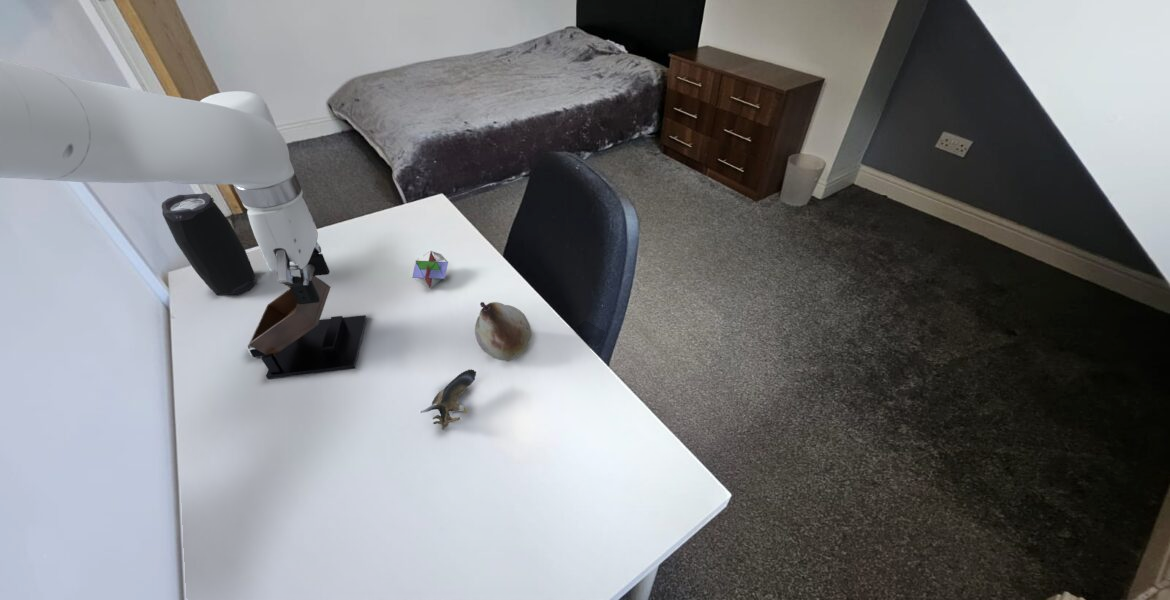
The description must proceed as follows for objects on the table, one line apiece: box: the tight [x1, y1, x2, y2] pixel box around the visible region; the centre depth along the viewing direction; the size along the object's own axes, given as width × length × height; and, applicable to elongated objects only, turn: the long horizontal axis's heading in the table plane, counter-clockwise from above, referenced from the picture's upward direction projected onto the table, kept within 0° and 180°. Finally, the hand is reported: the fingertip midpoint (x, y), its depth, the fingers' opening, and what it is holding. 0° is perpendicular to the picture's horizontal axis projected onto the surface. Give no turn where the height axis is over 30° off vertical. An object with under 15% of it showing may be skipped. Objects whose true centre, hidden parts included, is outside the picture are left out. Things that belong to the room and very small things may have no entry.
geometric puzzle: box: [411, 250, 449, 290], centre depth 98 cm, size 7×7×8 cm
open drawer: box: [248, 265, 332, 355], centre depth 78 cm, size 14×10×6 cm
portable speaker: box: [161, 192, 256, 296], centre depth 91 cm, size 9×9×20 cm
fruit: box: [474, 301, 532, 362], centre depth 82 cm, size 10×9×12 cm
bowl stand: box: [260, 314, 368, 380], centre depth 84 cm, size 14×13×5 cm
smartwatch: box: [246, 343, 266, 358], centre depth 84 cm, size 4×2×4 cm
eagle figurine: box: [420, 368, 477, 431], centre depth 74 cm, size 8×7×9 cm
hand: (314, 287), depth 77 cm, fingers closed on open drawer, 6 cm apart
